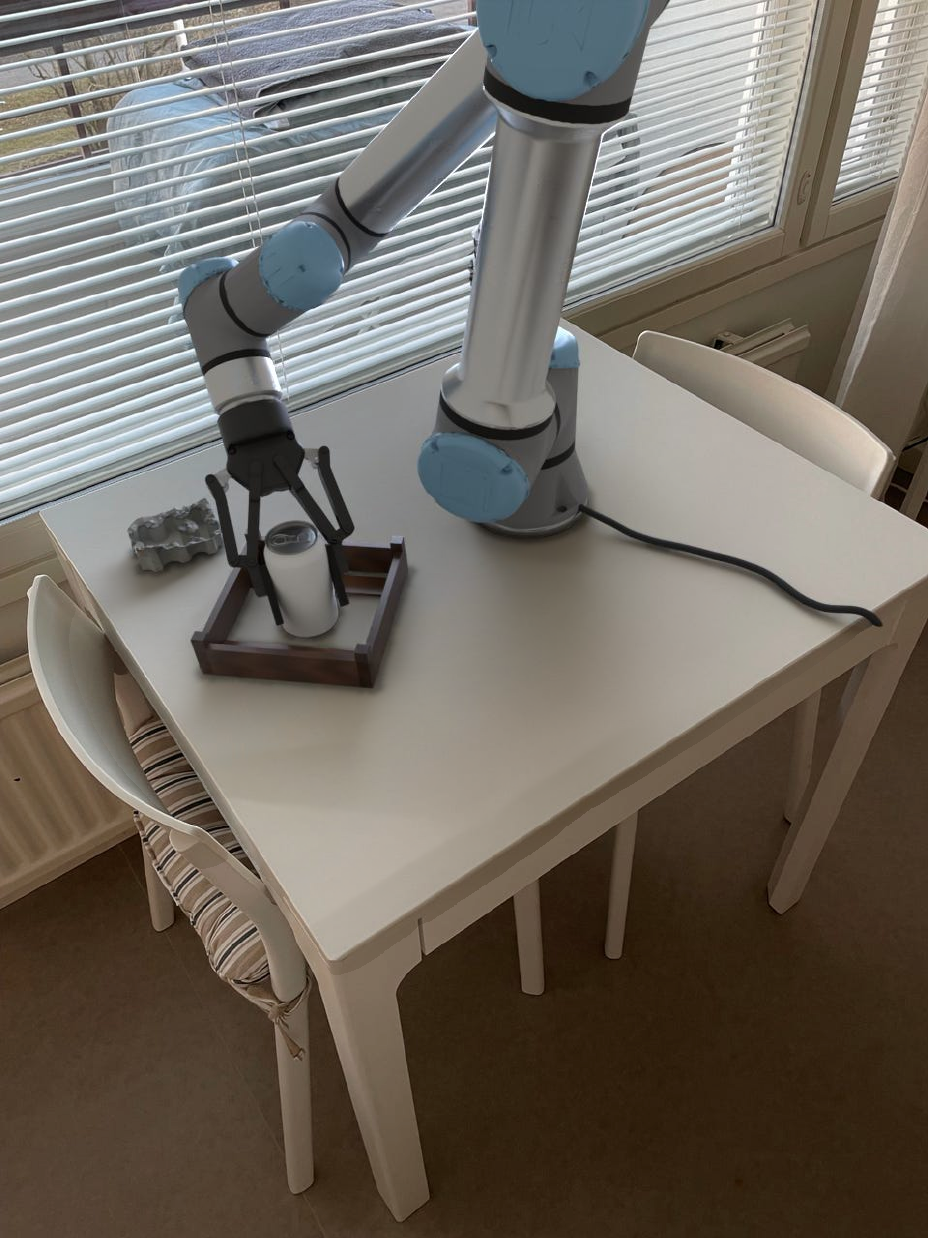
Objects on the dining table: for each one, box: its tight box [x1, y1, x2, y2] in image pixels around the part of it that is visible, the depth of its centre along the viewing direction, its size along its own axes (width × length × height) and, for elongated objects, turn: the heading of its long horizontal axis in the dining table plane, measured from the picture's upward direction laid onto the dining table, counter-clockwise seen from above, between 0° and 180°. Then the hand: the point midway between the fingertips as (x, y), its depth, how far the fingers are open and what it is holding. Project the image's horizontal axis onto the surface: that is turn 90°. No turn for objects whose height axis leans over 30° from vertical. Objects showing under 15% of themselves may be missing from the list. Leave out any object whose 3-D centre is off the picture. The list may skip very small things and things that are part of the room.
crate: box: [190, 527, 409, 689], centre depth 103 cm, size 19×19×5 cm
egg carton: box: [126, 497, 224, 573], centre depth 114 cm, size 11×8×4 cm
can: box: [264, 519, 339, 639], centre depth 101 cm, size 6×6×12 cm
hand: (312, 614), depth 100 cm, fingers closed on can, 6 cm apart
